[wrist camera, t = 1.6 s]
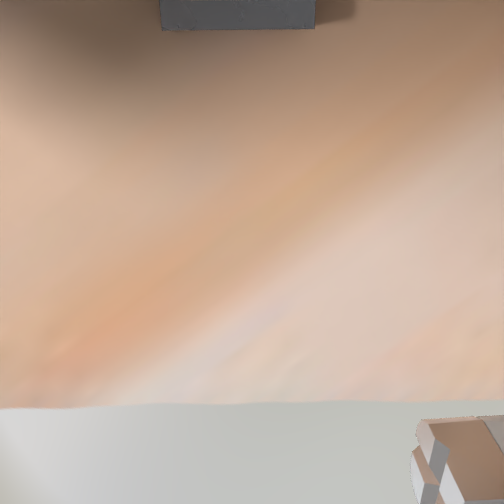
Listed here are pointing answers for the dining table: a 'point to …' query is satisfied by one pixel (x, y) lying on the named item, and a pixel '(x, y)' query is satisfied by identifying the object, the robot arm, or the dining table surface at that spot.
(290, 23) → the socket block
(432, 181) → the dining table surface
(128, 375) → the dining table surface
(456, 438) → the robot arm
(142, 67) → the dining table surface
